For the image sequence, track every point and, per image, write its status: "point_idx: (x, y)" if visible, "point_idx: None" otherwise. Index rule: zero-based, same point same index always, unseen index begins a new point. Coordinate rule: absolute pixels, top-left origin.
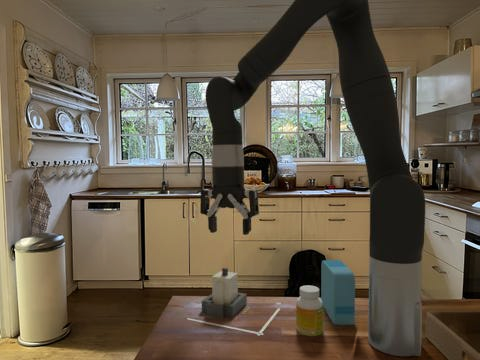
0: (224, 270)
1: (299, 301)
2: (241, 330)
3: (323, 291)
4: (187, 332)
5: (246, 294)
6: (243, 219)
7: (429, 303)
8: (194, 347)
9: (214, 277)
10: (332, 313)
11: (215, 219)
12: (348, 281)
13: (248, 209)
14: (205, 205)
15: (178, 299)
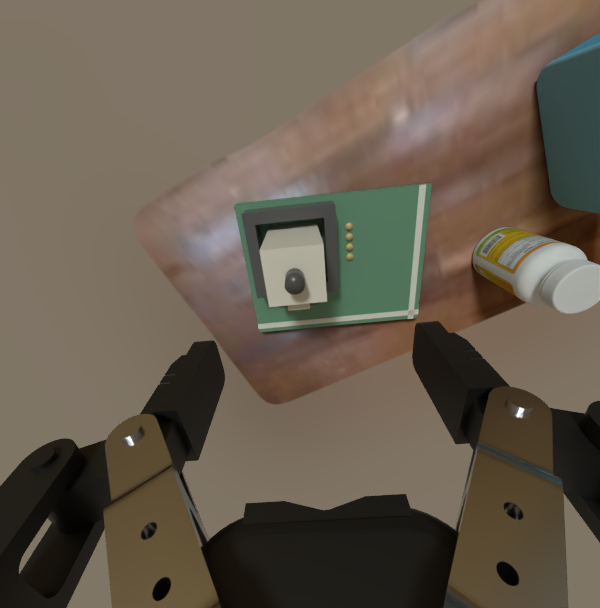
0: (298, 292)
1: (528, 299)
2: (376, 318)
3: (589, 90)
4: (282, 344)
5: (334, 204)
6: (462, 442)
7: None
8: (321, 370)
9: (277, 305)
10: (578, 200)
11: (192, 408)
12: None
13: (552, 458)
14: (69, 584)
15: (147, 239)
